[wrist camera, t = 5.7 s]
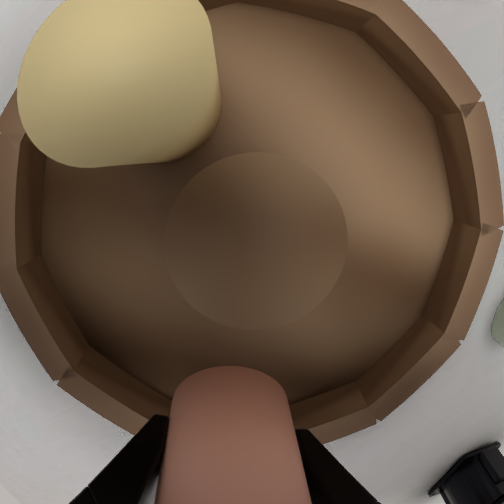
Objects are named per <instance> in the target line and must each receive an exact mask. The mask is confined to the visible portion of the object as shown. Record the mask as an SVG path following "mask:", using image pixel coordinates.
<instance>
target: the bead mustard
mask: <svg viewBox="0 0 504 504" xmlns="http://www.w3.org/2000/svg"><path fill="white" fill-rule="evenodd" d="M17 103H18V110H19V115H20V118H21V122H22V125H23V127H24V129H25V131H26V133H27V135H28V136H29V138H30V140H31V141H32V142H33V144H34V145H35V146H36V147H37V148H38V149H39V150H40V151H41V152H43V153H44V154H45V155H46V156H48V157H49V158H51V159H53V160H55V161H57V162H59V163H62V164H65V165H68V166H73V167H79V168H96V167H106V166H117V165H129V164H143V163H159V162H170V161H175V160H178V159H181V158H184V157H186V156H188V155H190V154H191V153H193V152H195V151H196V150H197V149H199V148H200V147H201V146H202V145H203V144H204V143H205V142H206V141H207V140H208V139H209V137H210V136H211V135H212V133H213V131H214V130H215V128H216V126H217V123H218V121H219V118H220V114H221V107H222V98H221V91H220V84H219V78H218V71H217V64H216V57H215V51H214V44H213V37H212V30H211V25H210V22H209V19H208V16H207V14H206V12H205V10H204V8H203V6H202V5H201V3H200V2H199V1H198V0H66V1H65V2H63V3H62V4H61V5H60V6H59V7H58V8H57V9H56V10H55V11H53V12H52V14H51V15H50V16H49V17H48V18H47V19H46V20H45V21H44V23H43V24H42V25H41V27H40V28H39V30H38V31H37V32H36V34H35V36H34V37H33V39H32V41H31V43H30V45H29V47H28V49H27V51H26V53H25V56H24V59H23V62H22V65H21V68H20V73H19V77H18V85H17Z"/></svg>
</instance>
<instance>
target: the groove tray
mask: <svg viewBox="0 0 504 504" xmlns="http://www.w3.org/2000/svg"><path fill="white" fill-rule="evenodd" d="M198 1H199V2H200V3H201V5H202V6H203V8H204V10H205V12H206V14H207V16H208V19H209V22H210V25H211V30H212V37H213V44H214V51H215V57H216V64H217V71H218V78H219V84H220V91H221V98H222V107H221V114H220V118H219V121H218V123H217V126H216V128H215V130H214V131H213V133H212V135H211V136H210V137H209V139H208V140H207V141H206V142H205V143H204V144H203V145H202V146H201V147H200V148H199V149H197V150H196V151H195V152H193V153H191V154H190V155H188V156H186V157H184V158H181V159H178V160H175V161H170V162H159V163H143V164H129V165H117V166H106V167H96V168H79V167H73V166H68V165H65V164H62V163H59V162H57V161H55V160H53V159H51V158H49V157H48V156H46V155H45V154H44V153H43V152H41V151H40V150H39V149H38V148H37V147H36V146H35V145H34V144H33V142H32V141H31V140H30V138H29V136H28V135H27V133H26V131H25V129H24V127H23V125H22V122H21V118H20V115H19V110H18V103H17V89H16V90H15V92H14V94H13V95H12V97H11V99H10V100H9V102H8V104H7V106H6V108H5V109H4V111H3V113H2V115H1V117H0V292H1V294H2V297H3V299H4V301H5V303H6V304H7V306H8V308H9V310H10V312H11V314H12V316H13V318H14V320H15V321H16V323H17V325H18V327H19V328H20V330H21V332H22V334H23V335H24V337H25V339H26V340H27V342H28V344H29V345H30V347H31V349H32V350H33V352H34V353H35V355H36V356H37V358H38V360H39V361H40V363H41V364H42V366H43V367H44V368H45V370H46V371H47V373H48V374H49V376H50V377H51V379H52V380H53V381H55V380H60V381H59V382H58V384H57V385H58V386H59V387H61V388H62V389H63V390H65V391H66V392H67V393H69V394H70V395H71V396H73V397H74V398H76V399H77V400H79V401H80V402H81V403H83V404H84V405H86V406H87V407H89V408H90V409H92V410H93V411H95V412H96V413H98V414H100V415H101V416H103V417H104V418H106V419H108V420H109V421H111V422H112V423H114V424H116V425H117V426H119V427H121V428H123V429H124V430H126V431H128V432H130V433H131V434H133V435H136V434H137V433H138V431H139V430H140V429H141V428H142V427H143V426H144V425H145V424H146V423H147V422H148V421H149V419H150V418H151V417H152V416H153V415H154V414H160V415H166V416H168V417H169V415H170V410H171V405H172V400H173V396H174V393H175V391H176V389H177V387H178V386H179V385H180V384H181V382H182V381H184V380H185V379H186V378H187V377H189V376H191V375H192V374H194V373H196V372H198V371H201V370H204V369H207V368H212V367H218V366H241V367H247V368H251V369H255V370H258V371H260V372H263V373H265V374H267V375H269V376H270V377H272V378H273V379H274V380H276V381H277V382H278V383H279V384H280V385H281V387H282V388H283V389H284V391H285V393H286V396H287V399H288V404H289V408H290V412H291V416H292V421H293V425H294V429H308V430H309V431H310V432H311V433H312V434H313V435H314V436H315V437H316V438H317V439H318V440H319V441H320V443H321V444H325V443H328V442H330V441H333V440H336V439H339V438H342V437H344V436H347V435H350V434H352V433H355V432H357V431H360V430H362V429H365V428H367V427H370V426H372V425H375V424H376V419H378V420H380V421H382V420H383V419H384V418H385V417H386V416H388V415H389V414H390V413H391V412H392V411H394V410H395V409H396V408H397V407H398V406H399V405H401V404H402V403H403V402H404V401H405V400H406V399H407V398H408V397H410V396H411V395H412V394H413V393H414V392H415V391H416V390H417V389H418V388H419V387H420V386H421V385H422V384H424V383H425V382H426V381H427V380H428V379H429V378H430V377H431V376H432V375H433V374H434V373H435V372H436V371H437V370H438V369H439V368H440V367H441V366H442V365H443V363H444V362H445V361H446V360H447V359H448V358H449V357H450V356H451V355H452V354H453V353H454V352H455V351H456V349H457V348H458V347H459V346H460V345H461V344H460V342H459V341H458V340H464V339H465V337H466V334H467V332H468V330H469V328H470V325H471V323H472V321H473V319H474V316H475V314H476V311H477V309H478V306H479V304H480V301H481V299H482V296H483V293H484V291H485V288H486V285H487V282H488V280H489V277H490V274H491V271H492V268H493V265H494V261H495V258H496V255H497V252H498V248H499V245H500V241H501V237H502V234H503V231H502V230H500V229H498V228H500V227H502V226H503V225H504V219H503V205H502V194H501V185H500V177H499V170H498V163H497V157H496V151H495V146H494V141H493V136H492V131H491V127H490V122H489V118H488V114H487V110H486V106H485V102H484V101H483V102H478V100H479V99H480V97H481V96H482V95H481V94H480V92H479V91H478V89H477V88H476V86H475V85H474V84H473V82H472V81H471V79H470V78H469V76H468V75H467V74H466V72H465V71H464V70H463V68H462V67H461V66H460V64H459V63H458V62H457V60H456V59H455V58H454V57H453V55H452V54H451V53H450V52H449V50H448V49H447V48H446V47H445V45H444V44H443V43H442V42H441V41H440V40H439V38H438V37H437V36H436V35H435V34H434V33H433V32H432V30H431V29H430V28H429V27H428V26H427V25H426V24H425V23H424V22H423V21H422V20H421V19H420V18H419V16H418V15H417V14H416V13H415V12H414V11H413V10H412V9H411V8H410V7H409V6H408V5H407V4H406V3H404V2H403V1H402V0H198Z"/></svg>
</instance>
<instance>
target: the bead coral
mask: <svg viewBox="0 0 504 504" xmlns="http://www.w3.org/2000/svg"><path fill="white" fill-rule="evenodd" d="M154 504H312V502H311V498H310V493H309V489H308V485H307V481H306V476H305V472H304V468H303V463H302V459H301V455H300V451H299V446H298V442H297V438H296V433H295V429H294V425H293V421H292V416H291V412H290V408H289V404H288V399H287V396H286V393H285V391H284V389H283V388H282V387H281V385H280V384H279V383H278V382H277V381H276V380H274V379H273V378H272V377H270V376H269V375H267V374H265V373H263V372H260V371H258V370H255V369H251V368H247V367H241V366H218V367H212V368H207V369H204V370H201V371H198V372H196V373H194V374H192V375H191V376H189V377H187V378H186V379H185V380H184V381H182V382H181V384H180V385H179V386H178V387H177V389H176V391H175V393H174V396H173V400H172V405H171V410H170V415H169V422H168V428H167V433H166V438H165V444H164V450H163V455H162V460H161V465H160V471H159V477H158V483H157V489H156V496H155V502H154Z"/></svg>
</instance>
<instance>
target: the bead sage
mask: <svg viewBox="0 0 504 504" xmlns="http://www.w3.org/2000/svg"><path fill="white" fill-rule="evenodd" d="M491 332H492V337H493V338H494V340H496V341H497V342H498V343H499V344H500V345H502V346H503V347H504V299H503V300H502V302H501V303H500V305H499V307H498V309H497V311H496V313H495V316H494V319H493V323H492V329H491Z"/></svg>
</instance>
